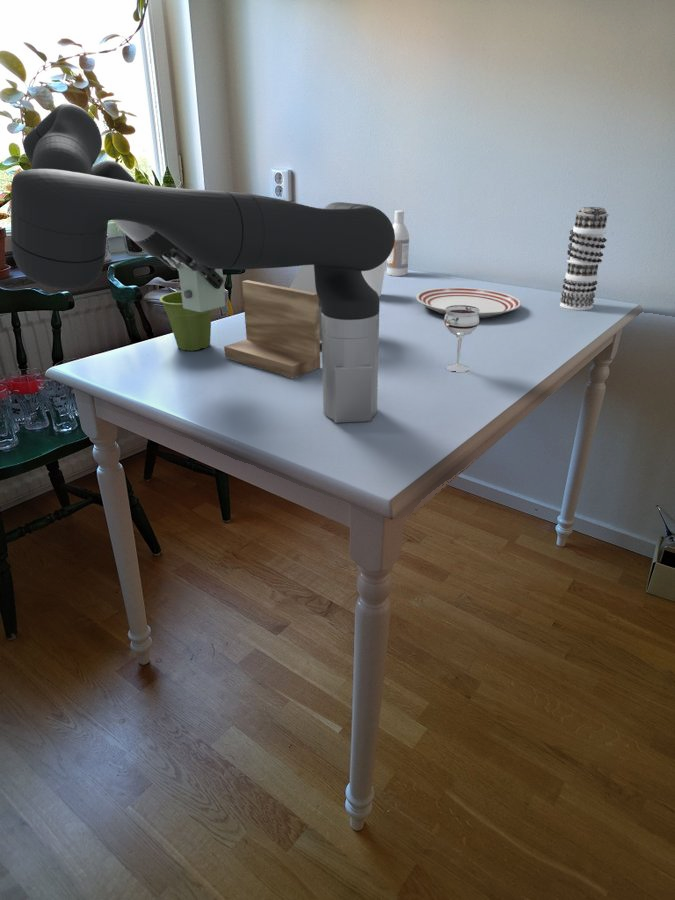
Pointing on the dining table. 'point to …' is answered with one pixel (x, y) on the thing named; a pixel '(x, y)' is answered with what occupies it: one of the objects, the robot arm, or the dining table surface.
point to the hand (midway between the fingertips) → (210, 282)
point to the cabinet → (199, 291)
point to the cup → (375, 277)
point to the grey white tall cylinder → (584, 258)
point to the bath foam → (399, 248)
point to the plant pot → (187, 323)
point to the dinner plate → (468, 300)
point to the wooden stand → (279, 330)
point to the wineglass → (461, 327)
